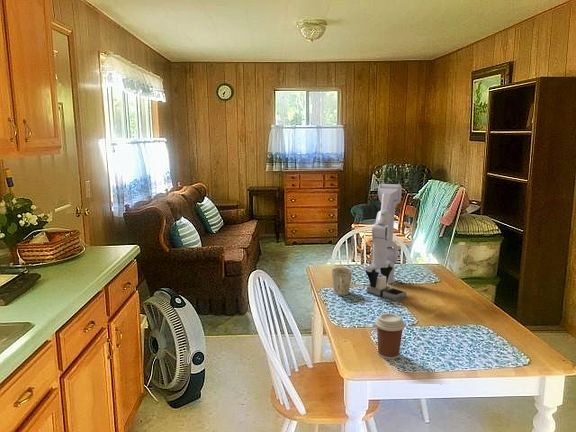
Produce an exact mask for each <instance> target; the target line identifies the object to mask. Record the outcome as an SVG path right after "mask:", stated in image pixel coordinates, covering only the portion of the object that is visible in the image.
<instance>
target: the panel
mask: <svg viewBox="0 0 576 432" xmlns="http://www.w3.org/2000/svg"><path fill="white" fill-rule="evenodd" d="M365 294H368V295H371V296H375V297H378V298H381V299H384V300H387V301H391V302H394V303H398V302H399V301H402V300H405V299H406V298H408V296H407V295H408V294H407V291H405V290H401V289H398V288H394V287H391V286H387V285H386V288H384V289H382V290H378V289H375V288H372V287H371V285H369V286H367V287H366V292H365Z"/></svg>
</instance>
